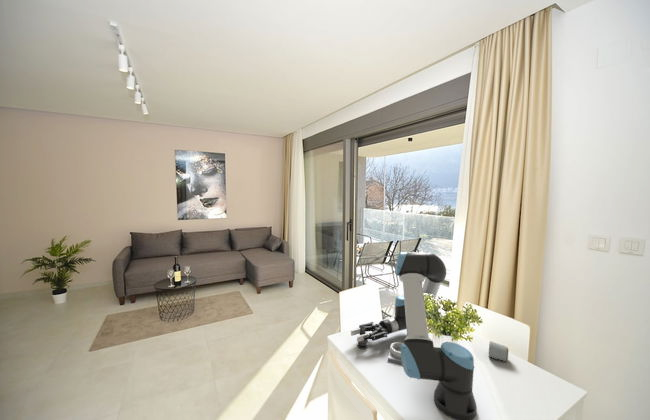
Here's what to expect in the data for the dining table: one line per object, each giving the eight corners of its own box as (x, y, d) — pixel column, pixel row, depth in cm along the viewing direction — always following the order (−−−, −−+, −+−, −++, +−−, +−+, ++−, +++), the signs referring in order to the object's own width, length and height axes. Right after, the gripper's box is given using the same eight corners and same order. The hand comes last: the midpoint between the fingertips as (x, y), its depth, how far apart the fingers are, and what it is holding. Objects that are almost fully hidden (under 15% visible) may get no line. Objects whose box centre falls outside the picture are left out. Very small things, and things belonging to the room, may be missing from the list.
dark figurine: (354, 344, 146) (355, 323, 145) (363, 342, 148) (364, 321, 147) (360, 350, 141) (360, 328, 140) (369, 347, 143) (370, 326, 142)
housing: (430, 371, 125) (431, 363, 124) (387, 360, 132) (388, 353, 132) (431, 354, 138) (431, 346, 138) (392, 344, 146) (392, 337, 146)
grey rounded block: (508, 365, 130) (509, 350, 130) (488, 359, 135) (489, 344, 134) (506, 354, 139) (507, 340, 139) (488, 349, 144) (489, 335, 143)
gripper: (399, 341, 144) (364, 352, 134) (377, 325, 161) (345, 334, 150) (400, 327, 144) (365, 337, 133) (378, 313, 160) (345, 321, 150)
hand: (354, 336), depth 142 cm, fingers open, 6 cm apart
